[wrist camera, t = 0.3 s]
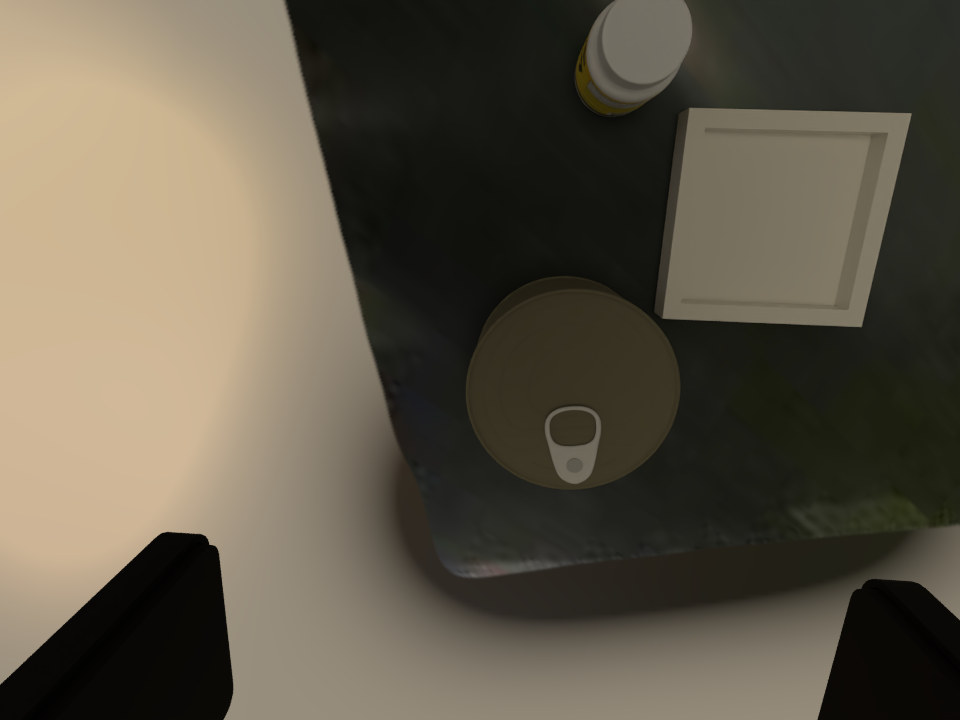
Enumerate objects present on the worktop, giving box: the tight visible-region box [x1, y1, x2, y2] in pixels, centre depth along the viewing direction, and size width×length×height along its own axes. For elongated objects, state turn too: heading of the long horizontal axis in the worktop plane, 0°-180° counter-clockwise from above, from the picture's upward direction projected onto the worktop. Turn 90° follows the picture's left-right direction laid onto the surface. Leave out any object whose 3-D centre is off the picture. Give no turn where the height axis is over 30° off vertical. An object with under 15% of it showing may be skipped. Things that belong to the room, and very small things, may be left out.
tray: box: [654, 108, 912, 327], centre depth 33 cm, size 12×12×2 cm
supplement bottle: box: [575, 0, 692, 117], centre depth 28 cm, size 5×5×8 cm
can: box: [466, 276, 680, 489], centre depth 34 cm, size 12×12×7 cm
